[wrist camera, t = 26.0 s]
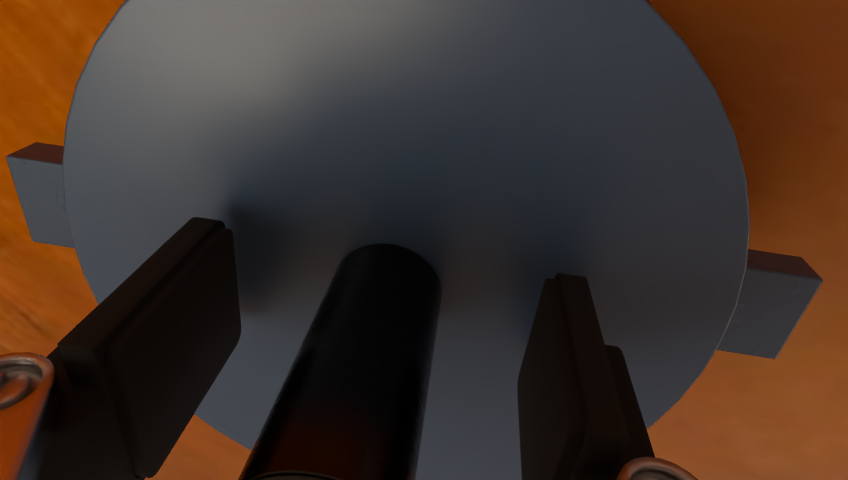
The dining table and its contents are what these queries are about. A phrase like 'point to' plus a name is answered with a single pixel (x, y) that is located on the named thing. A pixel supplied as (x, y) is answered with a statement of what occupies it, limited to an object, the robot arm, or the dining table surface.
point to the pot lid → (412, 208)
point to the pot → (746, 334)
